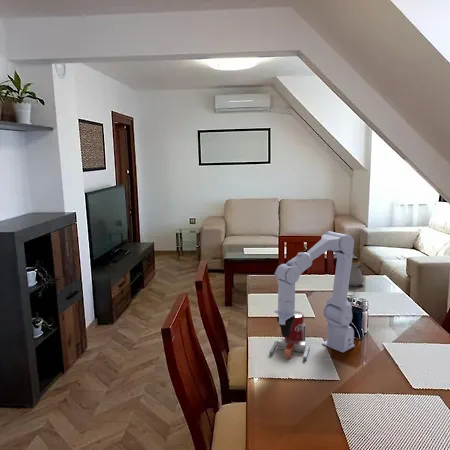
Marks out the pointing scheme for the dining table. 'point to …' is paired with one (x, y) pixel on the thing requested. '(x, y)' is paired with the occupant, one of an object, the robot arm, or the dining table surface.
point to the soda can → (297, 327)
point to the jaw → (291, 346)
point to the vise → (303, 339)
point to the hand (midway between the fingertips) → (285, 336)
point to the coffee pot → (356, 274)
